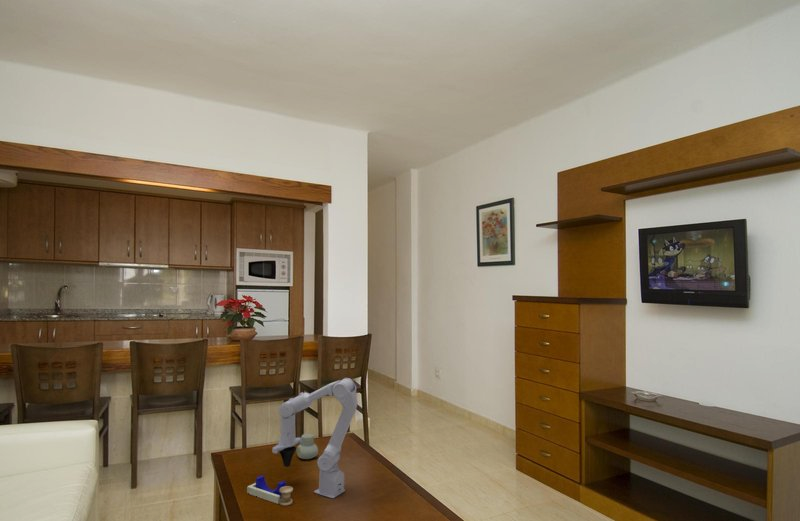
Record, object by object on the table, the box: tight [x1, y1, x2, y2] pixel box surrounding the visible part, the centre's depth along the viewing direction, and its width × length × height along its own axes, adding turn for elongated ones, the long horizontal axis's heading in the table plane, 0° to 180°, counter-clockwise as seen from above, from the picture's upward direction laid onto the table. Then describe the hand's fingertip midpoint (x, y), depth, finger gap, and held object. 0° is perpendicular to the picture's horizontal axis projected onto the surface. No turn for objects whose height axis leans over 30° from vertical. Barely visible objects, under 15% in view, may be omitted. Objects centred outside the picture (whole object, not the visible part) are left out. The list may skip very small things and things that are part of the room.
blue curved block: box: [255, 475, 287, 499], centre depth 177 cm, size 12×4×6 cm, turn 65°
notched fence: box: [246, 482, 281, 505], centre depth 176 cm, size 16×7×2 cm, turn 60°
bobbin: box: [278, 485, 294, 507], centre depth 171 cm, size 5×5×5 cm
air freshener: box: [295, 433, 319, 460], centre depth 216 cm, size 11×8×10 cm
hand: (286, 466), depth 184 cm, fingers closed
